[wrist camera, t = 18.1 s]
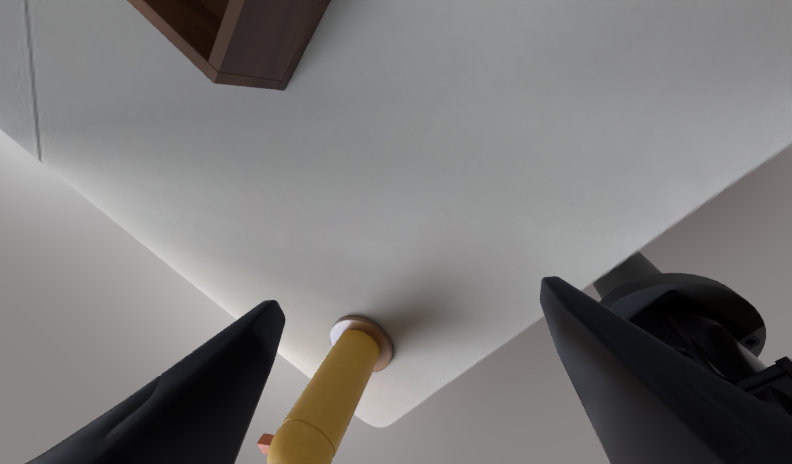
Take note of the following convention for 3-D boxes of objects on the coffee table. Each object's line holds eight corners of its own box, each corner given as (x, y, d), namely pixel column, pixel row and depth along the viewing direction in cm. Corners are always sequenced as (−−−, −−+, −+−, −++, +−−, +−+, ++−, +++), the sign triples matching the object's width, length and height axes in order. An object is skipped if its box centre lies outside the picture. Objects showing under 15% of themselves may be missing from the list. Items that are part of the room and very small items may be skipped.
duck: (372, 329, 28) (296, 471, 17) (385, 364, 29) (322, 517, 18) (321, 329, 30) (225, 455, 19) (335, 362, 31) (253, 497, 20)
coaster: (404, 341, 28) (402, 345, 27) (376, 378, 31) (374, 382, 31) (344, 304, 28) (342, 307, 28) (324, 344, 32) (321, 348, 31)
